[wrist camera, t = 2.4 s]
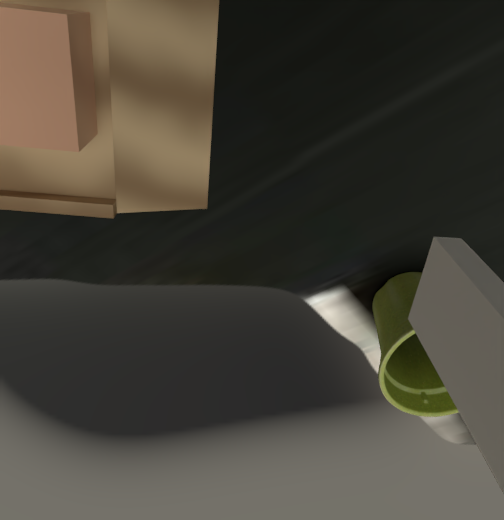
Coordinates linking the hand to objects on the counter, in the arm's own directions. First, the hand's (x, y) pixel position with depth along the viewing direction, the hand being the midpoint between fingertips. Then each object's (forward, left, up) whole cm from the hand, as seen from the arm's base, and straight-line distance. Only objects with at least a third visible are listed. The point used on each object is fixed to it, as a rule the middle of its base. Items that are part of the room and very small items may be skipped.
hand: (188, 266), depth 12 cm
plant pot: (+15, +17, -22) cm, 31 cm away
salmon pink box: (-1, -12, -19) cm, 23 cm away
